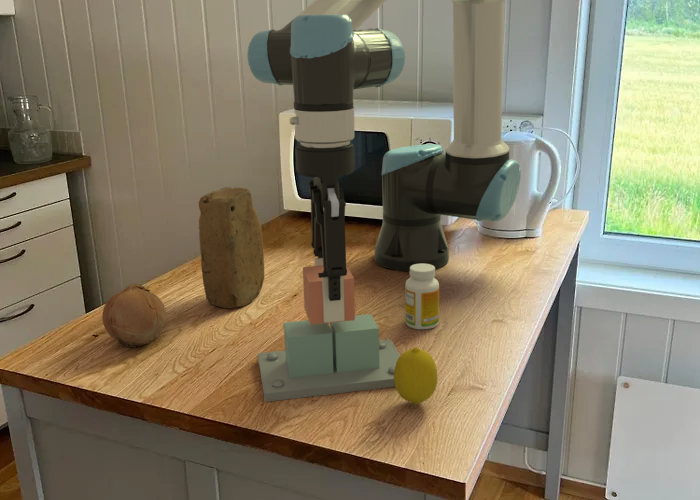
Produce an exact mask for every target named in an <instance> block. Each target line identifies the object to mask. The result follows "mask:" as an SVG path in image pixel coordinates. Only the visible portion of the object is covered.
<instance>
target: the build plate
mask: <svg viewBox="0 0 700 500" xmlns="http://www.w3.org/2000/svg"><path fill="white" fill-rule="evenodd" d="M283 332H284V333H283V334H284V335H283V336H284V349H285V350H276V351H275V350H274V351H268V352H267V351H266V352H258V353H257V360H258V361H257V362H258V368H259V374H260V381H261V386H262V392H263V400H264V403H265V402H266V403H268V402H275V401H283V400H292V399H301V398H310V397H318V396H326V395H335V394H342V393H351V392H359V391H369V390H370V391H371V390H378V389H384V388H385V389H386V388H393V387H395V382H394V370H395V366H396V363H397V360H398V358H399V357H400V355H401V354H400V352H399V351H398V350H397V348H396V346H395V344H394V343H393V341H392V340H391V338H390V339H380V327H379V326H378V324H377V322H376V320H375V318H374V317H373V315H372V313H368V314H356V315H355V320H352V321H342V322H332V323H322V324H312V325H311V324H310V322H309V319H307V320H306V319H305V320H299V321H298V320H295V321H288V322H287V321H286V322H283ZM395 388H396V387H395Z"/></svg>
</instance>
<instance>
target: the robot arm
mask: <svg viewBox="0 0 700 500" xmlns="http://www.w3.org/2000/svg"><path fill="white" fill-rule="evenodd" d="M450 1H451V3H452V33H453V34H452V36H453V38H452V45H453V46H452V50H453V51H452V54H453V55H452V56H453V59H452V61H453V64H452V67H453V69H452V70H453V72H452V73H453V74H452V75H453V81H452V82H453V83H452V84H453V85H452V86H453V88H452V90H453V93H452V94H453V96H452V97H453V140H452V141H451V142H450V143H449V144H448V145H447V146H446V148H445V151H444V149H443V147H442V145H440V144H436V143H435V144H434V143H432V144H431V143H429V144H428V143H427V144H417V145H409V146H402V147H397V148H394V149H390V150H388V151H387V152H385V154H384V155H383V158H382V168H381V176H382V177H381V179H382V181H381V182H382V184H381V185H382V189H381V190H382V225H381V227H380V230H379V234H378V237H377V240H376V243H375V247H374V261H375V263H376V264H377V265H379V266H381V267H383V268H386V269H389V270H396V271H403V272H410V266H412V265H414V264H421V263H423V264H430V265H433V266H434V267H435V269H438V268H441V267H443V266H445V265H446V264H448V262H449V261H450V259H449V258H450V256H449V255H450V249H449V246H448V243H447V239H446V236H445V232H444V229H443V226H442V221H441V216H447V217H455V218H463V219H468V220H474V221H476V222H482V221H483V222H484V221H485V222H500V221H502V220H503V219H505V218H506V216H507V215H508V214H509V213H510V211H511V210H512V208H513V206H514V203H515V201H516V199H517V195H518V191H519V188H520V182H521V172H522V171H521V168H520V163H519V162H518V161H517V160H514V159H510V146H508V144H507V143H506V142H504V141H503V139H502V118H503V114H502V111H503V107H502V106H503V73H504V71H503V68H504V67H503V63H504V23H505V22H504V20H505V17H504V16H505V15H504V14H505V0H450ZM386 2H387V0H313V1H312V2H311V3H310V4H309V5H308V6H307V7H305V8H304V9H303V10H302V11H301V12H299V14H298V15H296V16H295V17H294V18H293V19H292V20H291V21H289V22H288V23H286V25H285V26H283V27H282V28H280V29H278V30H276V29H269V30H264V31H263V30H262V31H259V32H257V33H255V34H254V35H253V36H252V38H251V40H250V42H249V44H248V47H247V55H246V57H247V64H248V66H249V69H250V72H251V74H252V75H253V76H254V77H255V79H256V80H257V81H259V82H261V83H264V84H273V85H278V86H293V87H292V88H293V100H294V101H293V108H294V112H293V113H294V115H295V116H293V117H290V118H289V124H290V125H291V126H294V136H295V137H294V138H295V140H296V141H297V142H299V143H298V144H297V145H296V146H295V147H294V148H295V150H294V151H295V153H294V154H295V170H296V172H297V174H298V175H300V176H303V177H308V178H311V179H309V182H308V185H309V186H308V188H309V189H308V190H309V191H308V194H309V197H310V219H311V221H310V222H311V225H310V226H311V243H310V244H311V247H312V249H313V251H312V252H313V255H314V259H313V260H314V266H322V265H323V268H324V271H323V273H318V276H319V278H322V291H323V321H324V323H326V322H336V321H344V278H343V276H346V275H347V269H346V265H347V251H346V250H347V249H346V224H345V223H346V218H345V216H346V205H347V204H346V203H347V202H346V200H345V196H344V195H345V193H344V188H343V187H342V188H341V187H340V186H341V185H340V183H339V179H340V178H341V177H342V176H348V175H350V174H352V173H353V172H354V171H355V167H356V166H355V165H356V164H355V162H356V161H355V158H356V157H355V145H354V144H353V143H352V142H351V141H352V140H354V139H355V107H354V90H359V89H365V88H366V89H369V88H373V87H375V88H381V87H382V86H384V85H387V84H390V83H392V82H394V81H395V80H396V79H397V78H398V77H399V76H400V74H402V71H403V70H404V66H405V60H406V55H405V48H404V46H403V43H402V41H401V39H399V37H398V36H397V34H395V33H393V32H392V31H390V30H386V29H380V28H368V29H359V28H360V27H361V26H362V25H363V24H364V23H365V22H366V21H368V19H369V18H370V17H371V16H372V15H373V14H374V13H375V12H376V11H377V10H378V9H379V8H380V7H381V6H382V5H383V4H384V3H386ZM443 152H444V154H443ZM312 178H313V179H312Z"/></svg>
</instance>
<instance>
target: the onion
mask: <svg viewBox="0 0 700 500" xmlns="http://www.w3.org/2000/svg"><path fill="white" fill-rule="evenodd" d="M166 311H167V310H166V309H165V305H164V303H163V301H162V300H161V298H160V297H159V296H157V295H156V294H154V293H153V292H151V290H150V289H148V288H146V287H145V286H143V285H142V284H138V283H130V284H129V286H126V287H125V288H124V289H122V290H120V291H119V292H117V293H116V294H114V295H112V296H111V297H109V299H108V300H107V301H106V302H105V305H104V306H103V310H102V316H101V318H102V324H103V326H104V329H105V330H106V333H108V334H109V336H111V338H112V339H113V340H115V341H116V342H118V343H119V344H121V345H123V346H124V347H129V348H130V347H131V348H132V347H133V348H134V349H136V348H137V347H138V346H141V347H142V346H144V345H145V344H147V345H148V344H151V342H152V341H155V339H158V336H160V335H161V333H162V330H163V329H164V328H165V326H166V319H167V312H166Z"/></svg>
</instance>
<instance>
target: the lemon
mask: <svg viewBox="0 0 700 500" xmlns="http://www.w3.org/2000/svg"><path fill="white" fill-rule="evenodd" d="M437 368H438V367H437V365H436V361H435V359H434V358H433V356H432V355H431V354H430V353H429V352H427V351H426V350H424V349H421V348H419V347H418V346H415V347H413V348H410V349H408V350H405V351H403V352H402V354H400V357H399V358H398V360H397V363H396V366H395V370H394V382H395V390H396V392H397V393H398V394H399V396H400V397H401V398H402V399H403V400H405V401H407V402H410V403H411V404H413V405H416V406H417V405H418V404H420V403H423V402H425V401H427V400H428V399H429V398H431V397H432V396H433V395H434V393H435V391H436V388H437V384H438V369H437Z"/></svg>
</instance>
